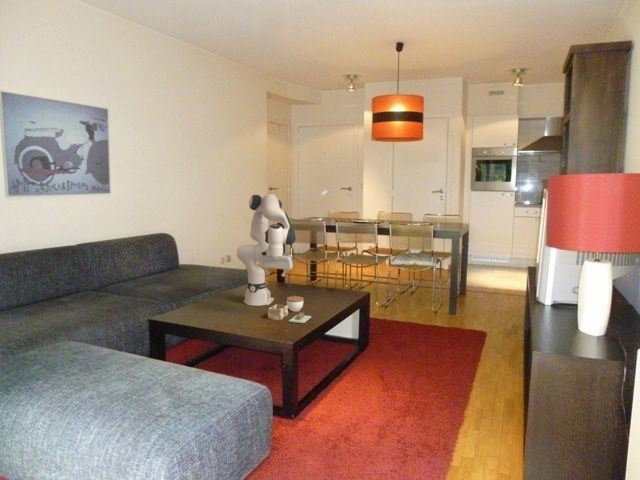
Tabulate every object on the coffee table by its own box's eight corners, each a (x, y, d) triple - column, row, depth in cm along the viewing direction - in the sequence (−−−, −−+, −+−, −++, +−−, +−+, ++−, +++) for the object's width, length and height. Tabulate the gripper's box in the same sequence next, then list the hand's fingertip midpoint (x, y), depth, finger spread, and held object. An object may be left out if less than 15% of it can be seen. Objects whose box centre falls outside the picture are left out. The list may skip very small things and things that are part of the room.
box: (275, 313, 303) (275, 304, 303) (287, 315, 301) (288, 305, 300) (267, 318, 292) (267, 309, 291) (280, 320, 289) (280, 310, 289)
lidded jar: (306, 309, 314) (306, 295, 313) (297, 313, 305) (297, 298, 304) (292, 307, 319) (292, 293, 318) (283, 310, 310) (283, 296, 309)
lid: (297, 317, 297) (297, 310, 297) (311, 318, 295) (311, 312, 294) (288, 323, 285) (289, 316, 285) (303, 324, 282) (303, 317, 282)
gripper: (294, 252, 288) (294, 276, 290) (262, 250, 294) (262, 273, 296) (290, 254, 282) (290, 278, 284) (257, 252, 288) (257, 275, 290)
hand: (275, 275), depth 290 cm, fingers open, 8 cm apart
